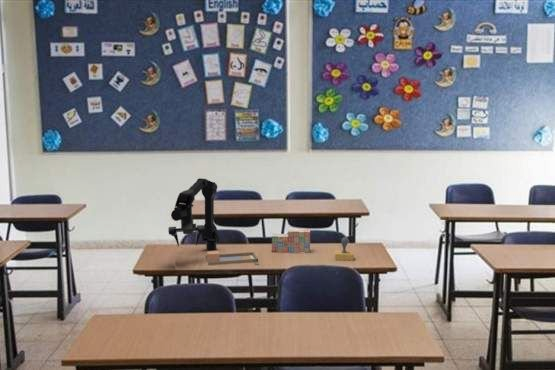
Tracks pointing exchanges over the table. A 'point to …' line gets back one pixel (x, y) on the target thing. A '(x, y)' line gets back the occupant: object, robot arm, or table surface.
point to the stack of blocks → (292, 241)
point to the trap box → (235, 258)
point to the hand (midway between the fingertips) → (187, 245)
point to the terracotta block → (213, 256)
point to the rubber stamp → (344, 252)
